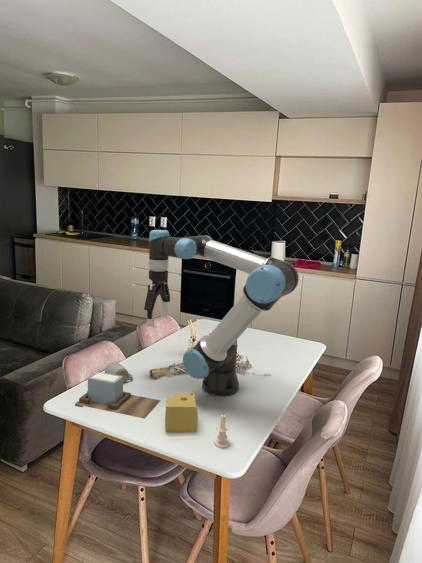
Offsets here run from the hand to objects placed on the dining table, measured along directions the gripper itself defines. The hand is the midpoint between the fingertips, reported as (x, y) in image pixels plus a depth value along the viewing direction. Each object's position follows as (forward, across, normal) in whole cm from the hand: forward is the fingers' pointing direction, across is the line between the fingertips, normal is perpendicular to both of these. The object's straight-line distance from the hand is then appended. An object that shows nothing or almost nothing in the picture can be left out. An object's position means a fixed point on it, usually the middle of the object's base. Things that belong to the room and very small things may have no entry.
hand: (157, 321), depth 171 cm
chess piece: (+27, +32, +37) cm, 56 cm away
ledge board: (+27, +21, -6) cm, 34 cm away
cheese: (+27, +27, +21) cm, 44 cm away
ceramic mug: (+27, +4, -15) cm, 31 cm away
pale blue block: (+26, +21, -11) cm, 35 cm away
